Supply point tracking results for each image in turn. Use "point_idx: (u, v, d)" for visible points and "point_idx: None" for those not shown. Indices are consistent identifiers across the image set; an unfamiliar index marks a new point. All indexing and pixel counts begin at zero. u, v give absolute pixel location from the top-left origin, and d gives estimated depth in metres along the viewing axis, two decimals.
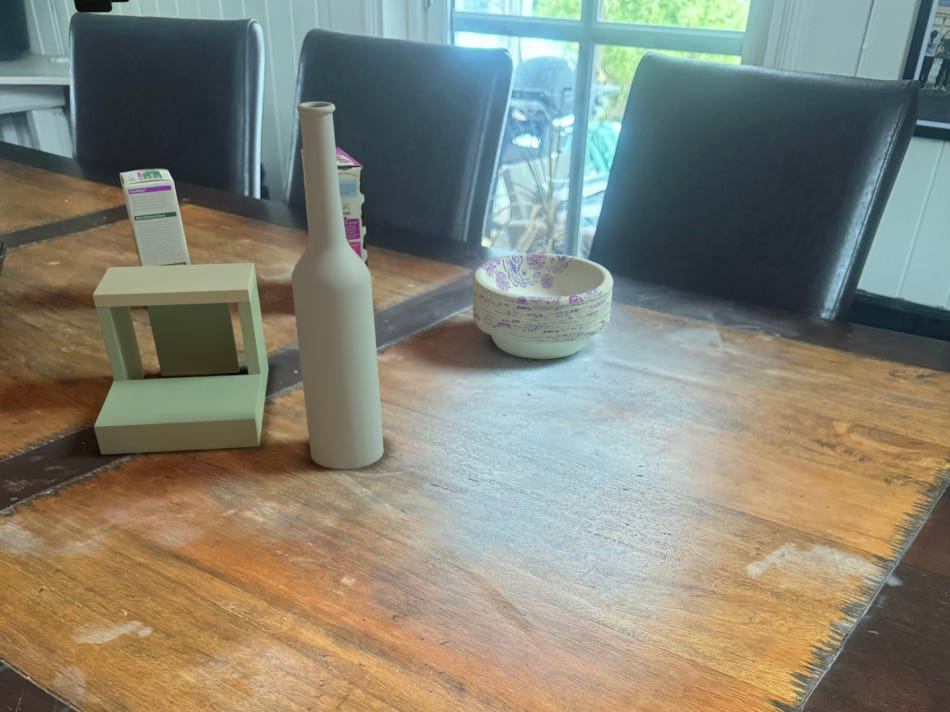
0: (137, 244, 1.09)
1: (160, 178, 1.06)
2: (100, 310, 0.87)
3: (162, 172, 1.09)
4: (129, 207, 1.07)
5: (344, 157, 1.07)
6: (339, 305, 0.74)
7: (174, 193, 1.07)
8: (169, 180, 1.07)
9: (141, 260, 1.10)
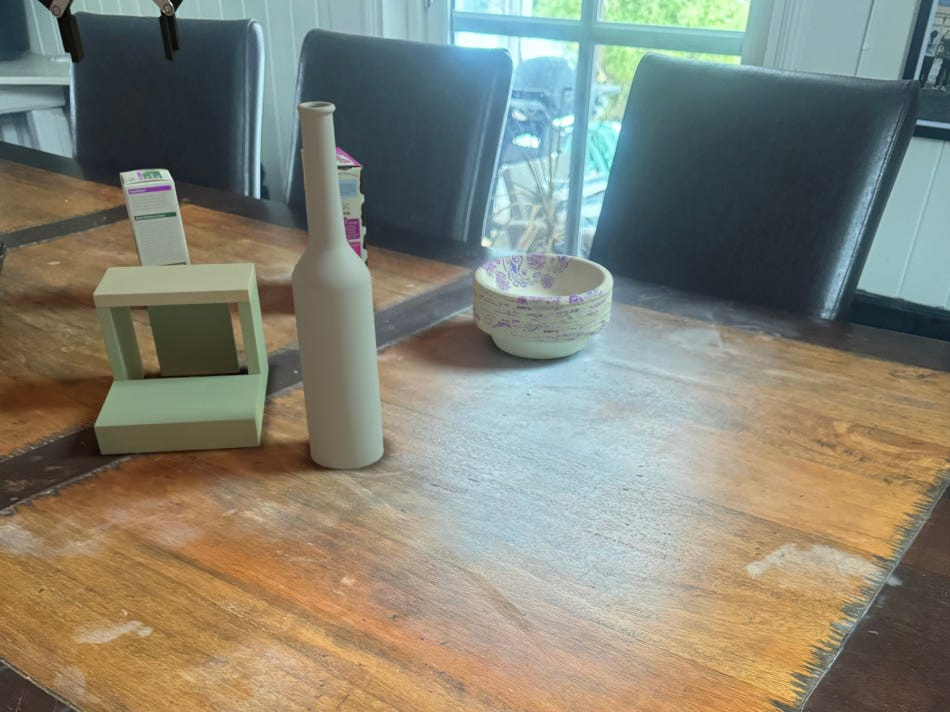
0: (137, 244, 1.09)
1: (160, 178, 1.06)
2: (100, 310, 0.87)
3: (162, 172, 1.09)
4: (129, 207, 1.07)
5: (344, 157, 1.07)
6: (339, 305, 0.74)
7: (174, 193, 1.07)
8: (169, 180, 1.07)
9: (141, 260, 1.10)
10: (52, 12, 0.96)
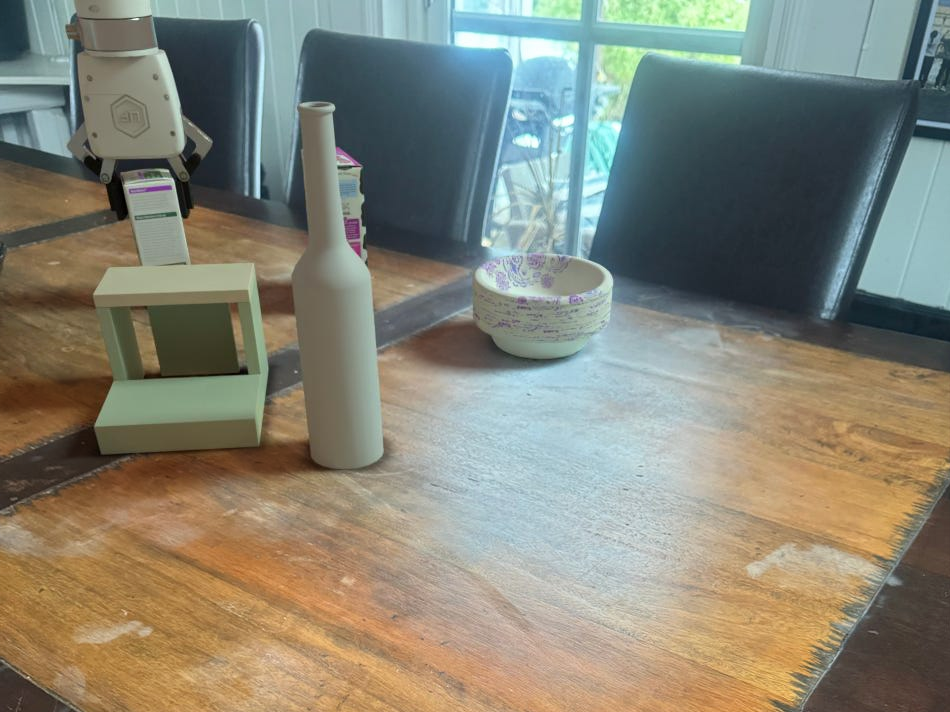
0: (137, 244, 1.09)
1: (161, 178, 1.06)
2: (100, 310, 0.87)
3: (163, 172, 1.09)
4: (129, 207, 1.07)
5: (344, 157, 1.07)
6: (339, 305, 0.74)
7: (175, 193, 1.07)
8: (170, 180, 1.07)
9: (141, 260, 1.10)
10: (102, 180, 1.06)
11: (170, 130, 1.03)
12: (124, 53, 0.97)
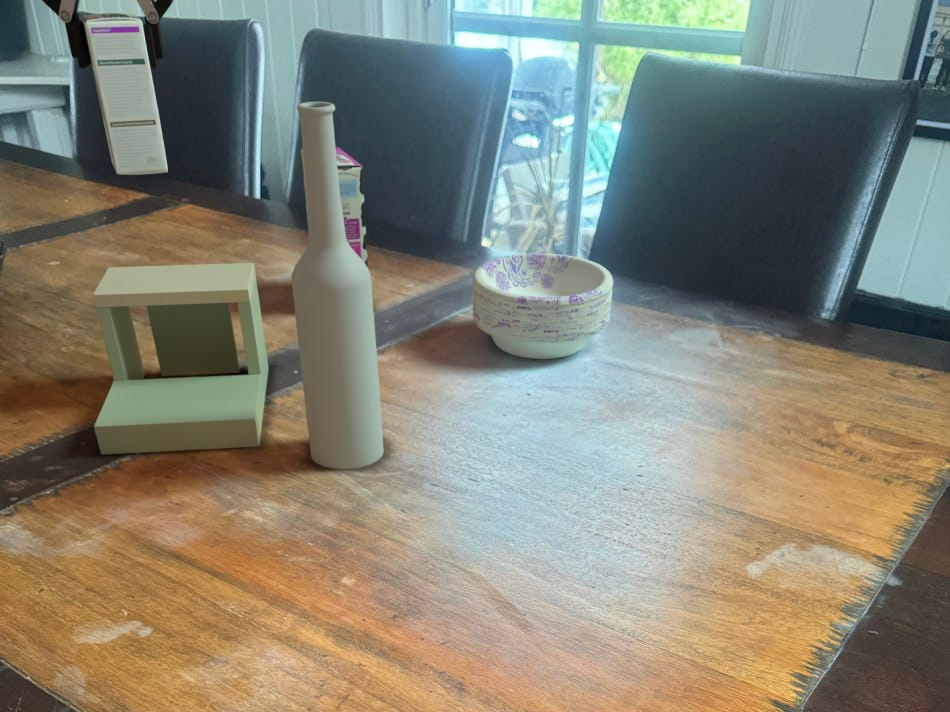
0: (101, 94, 0.99)
1: (127, 18, 0.96)
2: (100, 310, 0.87)
3: (130, 15, 0.98)
4: (92, 49, 0.96)
5: (344, 157, 1.07)
6: (339, 305, 0.74)
7: (143, 36, 0.97)
8: (137, 20, 0.96)
9: (105, 114, 1.00)
10: (62, 18, 0.96)
11: None
12: None
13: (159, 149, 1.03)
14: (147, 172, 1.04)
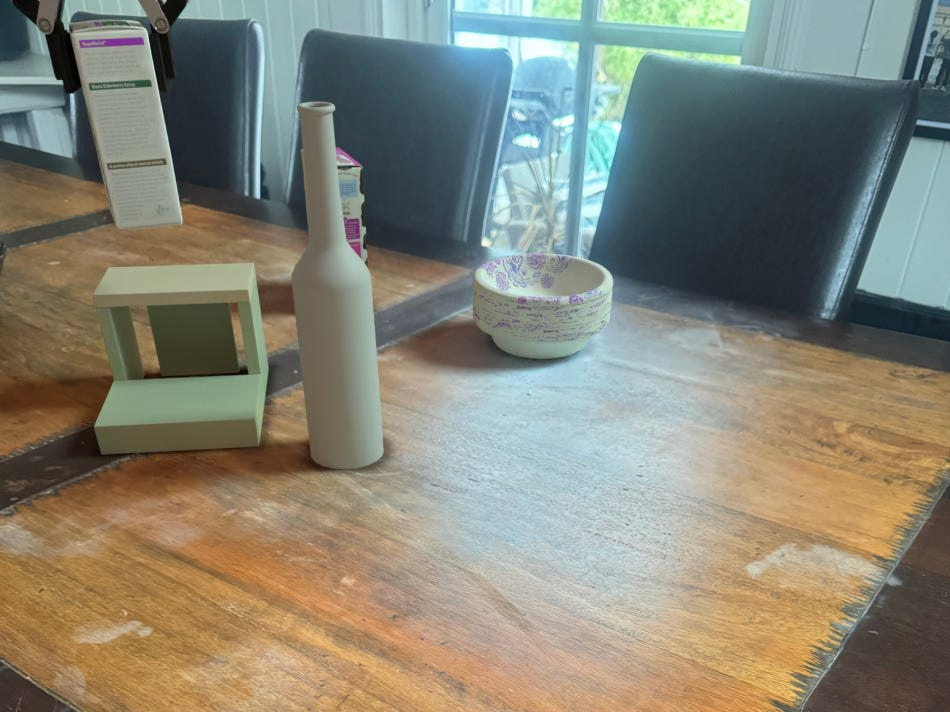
0: (94, 127, 0.75)
1: (127, 26, 0.72)
2: (100, 310, 0.87)
3: (131, 22, 0.74)
4: (81, 69, 0.72)
5: (344, 157, 1.07)
6: (339, 305, 0.74)
7: (148, 50, 0.73)
8: (141, 29, 0.72)
9: (100, 152, 0.76)
10: (41, 29, 0.72)
11: None
12: None
13: (171, 196, 0.80)
14: (156, 225, 0.80)
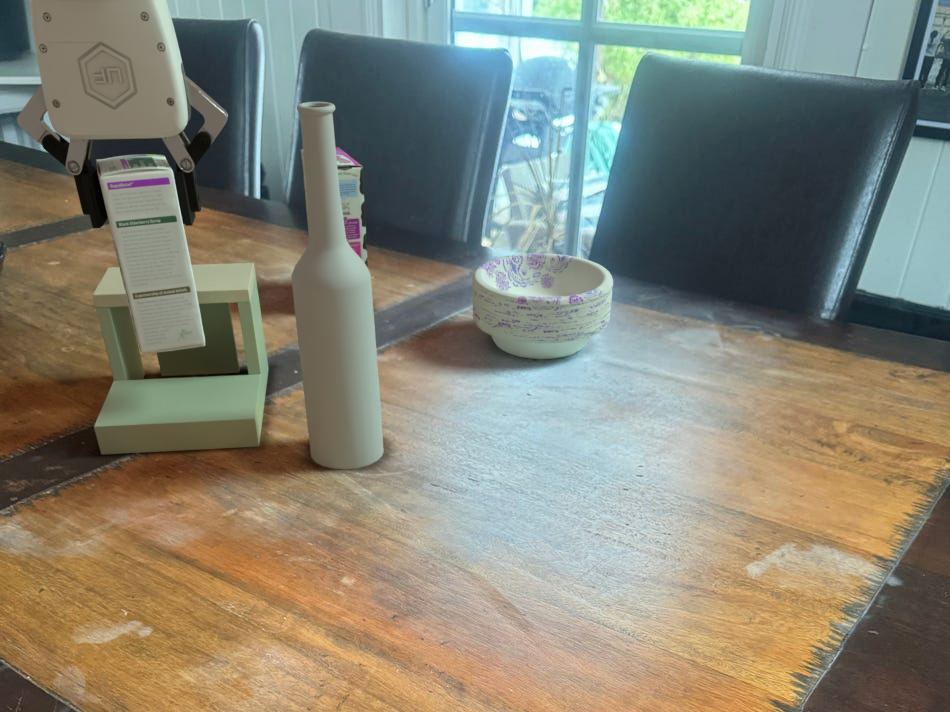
0: (120, 261, 0.76)
1: (154, 167, 0.74)
2: (100, 310, 0.87)
3: (157, 159, 0.76)
4: (109, 208, 0.74)
5: (344, 157, 1.07)
6: (339, 305, 0.74)
7: (174, 189, 0.75)
8: (167, 170, 0.74)
9: (126, 284, 0.78)
10: (69, 170, 0.74)
11: (167, 97, 0.70)
12: None
13: (194, 320, 0.81)
14: (179, 348, 0.82)
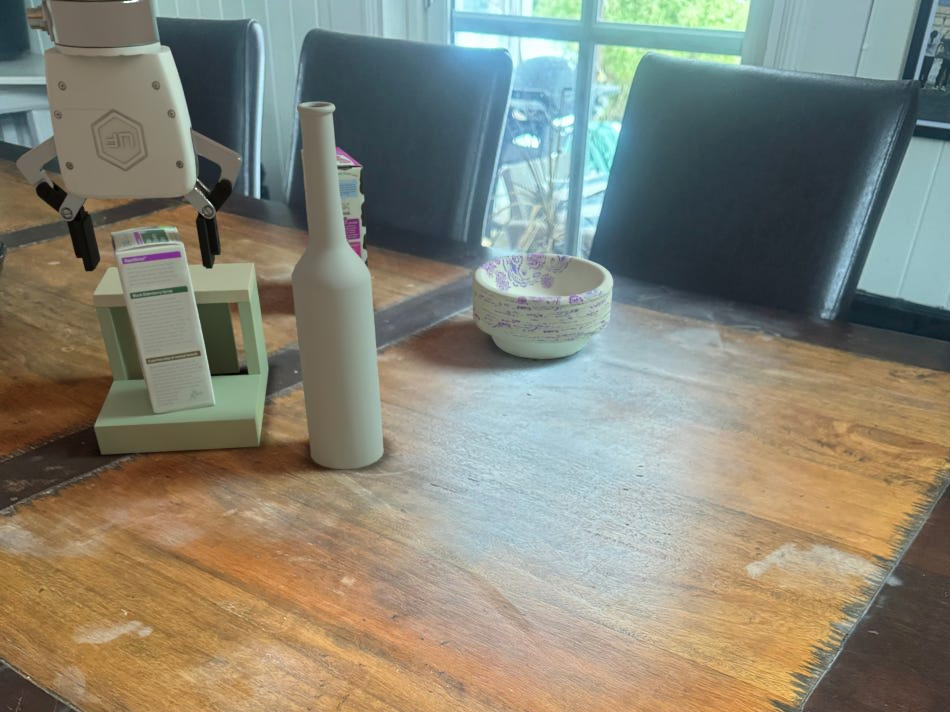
0: (134, 329, 0.80)
1: (166, 242, 0.77)
2: (100, 310, 0.87)
3: (168, 231, 0.80)
4: (123, 281, 0.77)
5: (344, 157, 1.07)
6: (339, 305, 0.74)
7: (185, 261, 0.78)
8: (178, 244, 0.77)
9: (140, 350, 0.81)
10: (61, 215, 0.76)
11: (176, 160, 0.73)
12: (111, 51, 0.67)
13: (205, 382, 0.85)
14: (190, 407, 0.86)
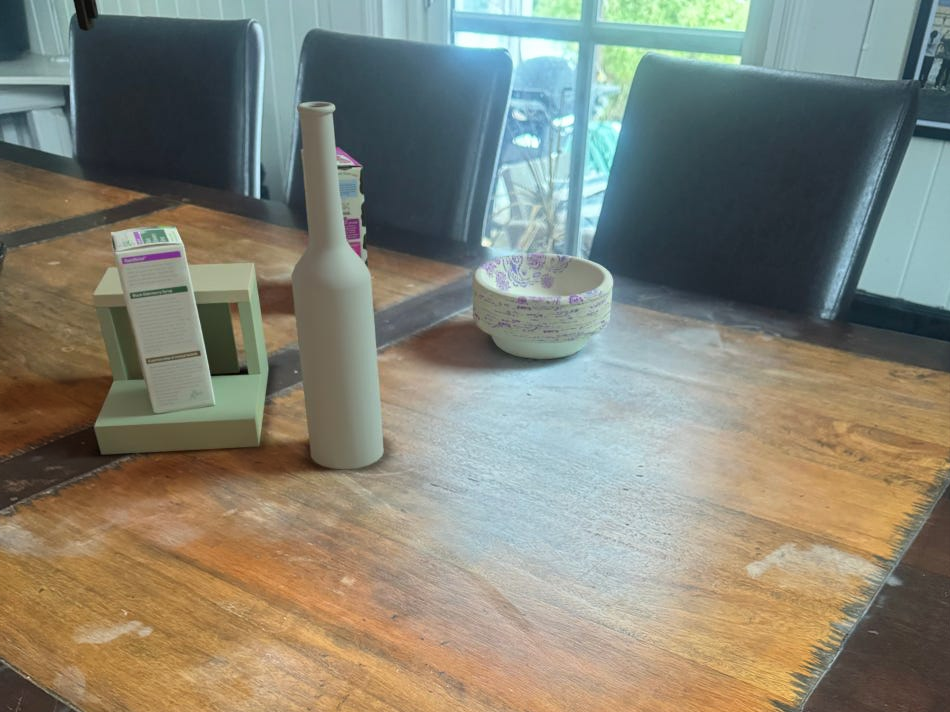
0: (134, 329, 0.80)
1: (165, 241, 0.77)
2: (100, 310, 0.87)
3: (168, 231, 0.80)
4: (123, 281, 0.77)
5: (344, 157, 1.07)
6: (339, 305, 0.74)
7: (185, 261, 0.78)
8: (178, 244, 0.77)
9: (140, 350, 0.81)
10: None
11: None
12: None
13: (205, 381, 0.85)
14: (190, 407, 0.86)
